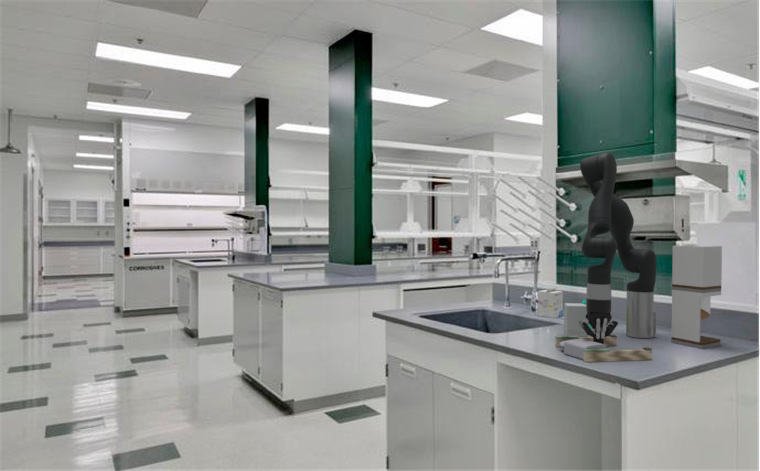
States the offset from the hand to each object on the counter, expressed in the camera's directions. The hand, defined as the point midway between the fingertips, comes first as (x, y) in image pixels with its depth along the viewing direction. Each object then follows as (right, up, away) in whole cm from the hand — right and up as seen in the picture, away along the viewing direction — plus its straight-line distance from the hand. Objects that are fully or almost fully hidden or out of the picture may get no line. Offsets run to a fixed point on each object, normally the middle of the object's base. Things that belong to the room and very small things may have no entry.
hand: (598, 349), depth 166 cm
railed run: (+1, -1, 0) cm, 2 cm away
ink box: (+7, 0, +69) cm, 69 cm away
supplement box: (+1, -1, +22) cm, 22 cm away
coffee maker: (+41, -1, +13) cm, 43 cm away
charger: (-7, -2, -1) cm, 7 cm away
